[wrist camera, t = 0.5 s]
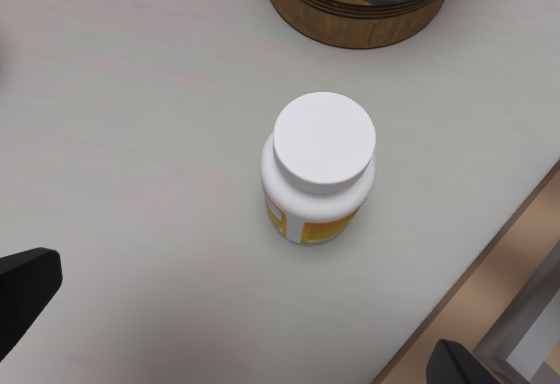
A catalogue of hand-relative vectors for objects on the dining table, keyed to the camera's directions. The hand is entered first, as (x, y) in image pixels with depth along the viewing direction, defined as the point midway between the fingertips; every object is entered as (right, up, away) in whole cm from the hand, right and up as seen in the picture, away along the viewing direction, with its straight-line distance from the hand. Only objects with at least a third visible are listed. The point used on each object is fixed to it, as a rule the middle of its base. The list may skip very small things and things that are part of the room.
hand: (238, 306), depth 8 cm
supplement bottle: (+3, +2, +15) cm, 15 cm away
